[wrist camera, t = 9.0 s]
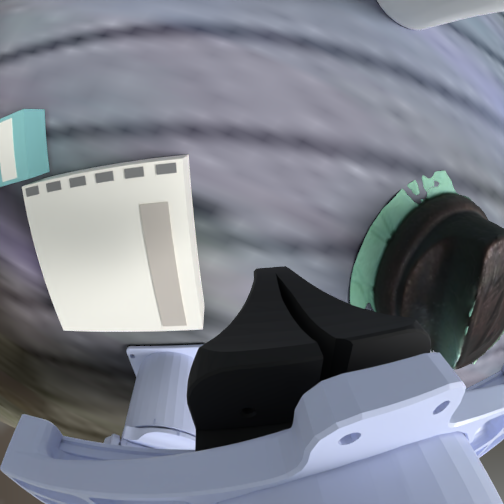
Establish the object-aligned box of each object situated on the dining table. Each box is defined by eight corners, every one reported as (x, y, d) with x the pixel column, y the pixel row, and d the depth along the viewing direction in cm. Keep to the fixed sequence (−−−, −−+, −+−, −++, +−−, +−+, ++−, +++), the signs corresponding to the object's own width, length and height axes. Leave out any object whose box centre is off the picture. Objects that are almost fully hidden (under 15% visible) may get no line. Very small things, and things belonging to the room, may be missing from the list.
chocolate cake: (485, 305, 29) (527, 344, 20) (359, 370, 30) (391, 433, 21) (491, 153, 21) (559, 174, 13) (330, 203, 22) (392, 251, 13)
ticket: (204, 305, 24) (202, 330, 21) (77, 309, 23) (63, 331, 20) (188, 154, 19) (182, 158, 16) (44, 177, 18) (21, 186, 15)
